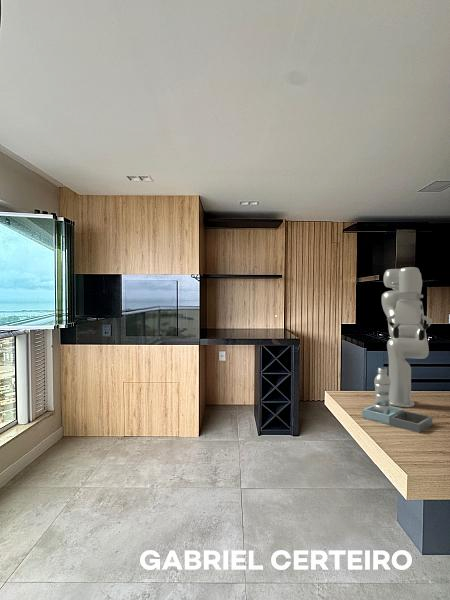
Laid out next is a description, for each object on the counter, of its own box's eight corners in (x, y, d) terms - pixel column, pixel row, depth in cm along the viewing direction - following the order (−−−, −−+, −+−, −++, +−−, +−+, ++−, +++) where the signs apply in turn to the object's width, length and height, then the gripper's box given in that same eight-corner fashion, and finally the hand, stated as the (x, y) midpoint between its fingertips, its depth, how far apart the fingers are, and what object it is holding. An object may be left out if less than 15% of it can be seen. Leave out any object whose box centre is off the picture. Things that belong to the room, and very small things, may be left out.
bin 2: (403, 417, 148) (403, 410, 148) (432, 424, 139) (432, 416, 139) (389, 424, 138) (389, 417, 138) (419, 432, 130) (419, 424, 130)
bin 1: (377, 411, 156) (377, 403, 156) (403, 417, 148) (403, 409, 148) (362, 417, 146) (362, 409, 146) (389, 424, 138) (389, 416, 138)
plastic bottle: (389, 414, 149) (389, 367, 150) (391, 419, 143) (391, 370, 143) (373, 412, 152) (373, 366, 152) (374, 417, 145) (374, 369, 145)
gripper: (435, 297, 141) (435, 340, 141) (391, 297, 154) (391, 336, 154) (428, 297, 136) (428, 341, 136) (383, 297, 149) (383, 337, 149)
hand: (408, 339), depth 145 cm, fingers open, 9 cm apart
